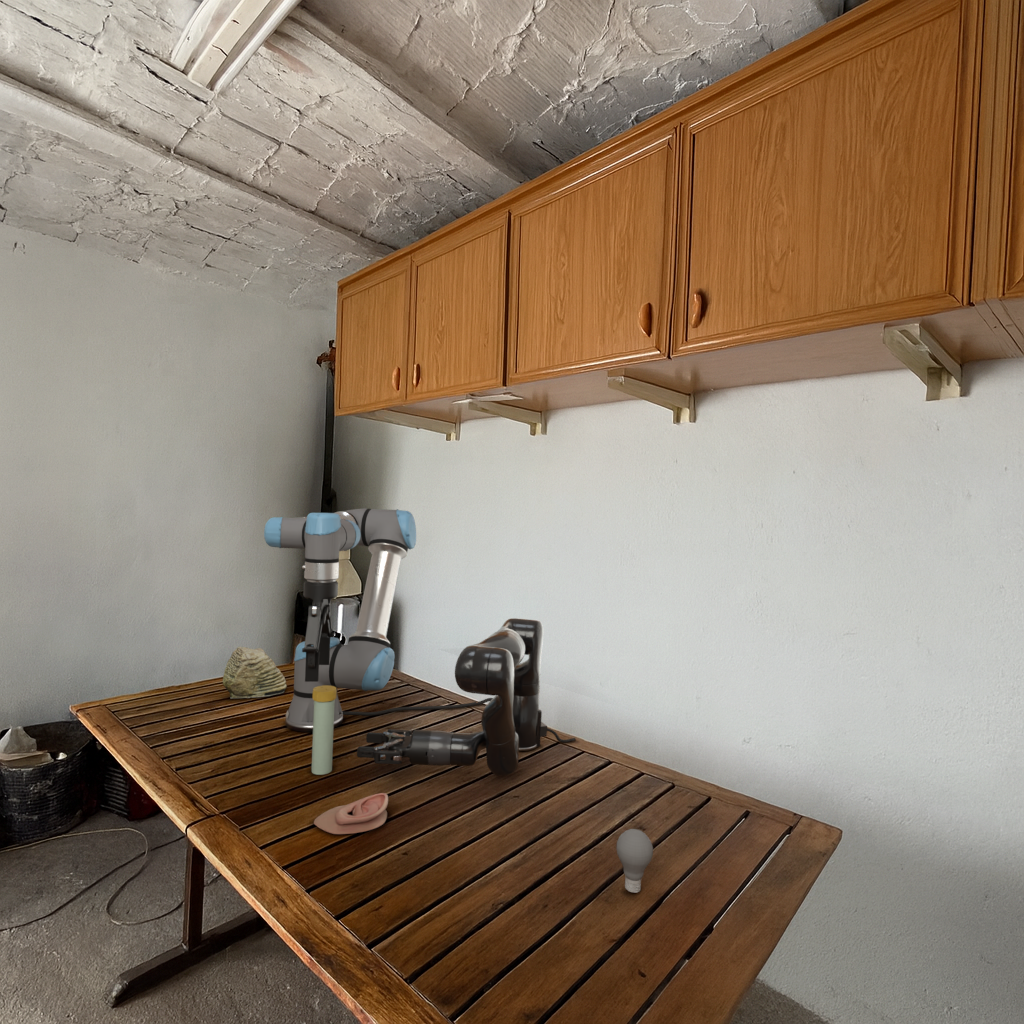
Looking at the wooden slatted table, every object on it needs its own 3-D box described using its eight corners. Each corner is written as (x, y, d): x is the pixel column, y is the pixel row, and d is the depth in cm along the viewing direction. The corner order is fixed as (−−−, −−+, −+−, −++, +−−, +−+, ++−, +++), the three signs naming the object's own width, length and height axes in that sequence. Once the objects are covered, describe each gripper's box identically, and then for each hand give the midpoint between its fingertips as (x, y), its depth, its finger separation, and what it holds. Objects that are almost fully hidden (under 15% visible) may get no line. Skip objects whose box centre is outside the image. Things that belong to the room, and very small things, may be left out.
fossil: (218, 695, 195) (220, 647, 195) (278, 685, 208) (279, 640, 207) (228, 703, 189) (230, 653, 188) (289, 692, 201) (290, 645, 201)
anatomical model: (306, 809, 120) (334, 783, 131) (305, 829, 120) (334, 802, 131) (371, 819, 117) (395, 791, 129) (370, 840, 117) (394, 811, 129)
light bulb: (610, 879, 108) (613, 822, 108) (644, 879, 109) (647, 822, 109) (619, 902, 102) (622, 840, 102) (655, 901, 103) (658, 840, 103)
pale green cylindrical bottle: (310, 767, 148) (313, 688, 147) (330, 765, 149) (333, 687, 149) (312, 775, 143) (315, 694, 143) (332, 773, 145) (335, 692, 145)
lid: (311, 695, 148) (312, 686, 148) (335, 694, 149) (335, 684, 149) (313, 702, 143) (313, 692, 143) (337, 701, 145) (337, 691, 145)
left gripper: (315, 573, 157) (312, 658, 157) (291, 587, 132) (287, 688, 132) (346, 573, 158) (343, 658, 158) (328, 588, 133) (324, 689, 133)
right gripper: (436, 720, 153) (370, 717, 153) (428, 743, 139) (354, 740, 139) (435, 751, 153) (368, 748, 153) (426, 777, 139) (353, 773, 139)
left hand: (317, 672), depth 145 cm, fingers open, 13 cm apart
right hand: (362, 744), depth 146 cm, fingers open, 8 cm apart
